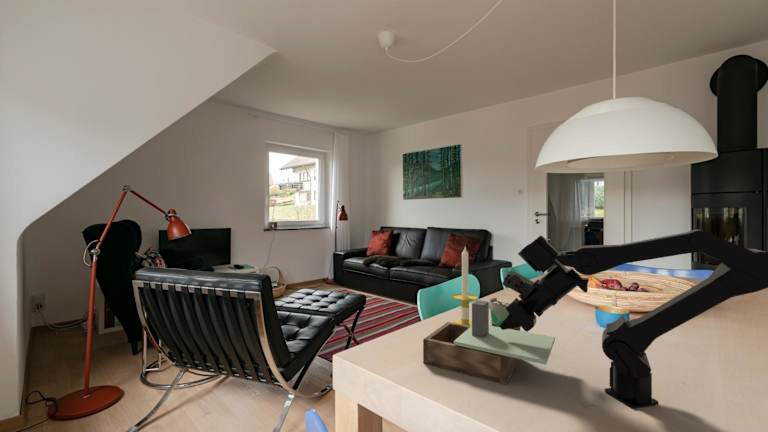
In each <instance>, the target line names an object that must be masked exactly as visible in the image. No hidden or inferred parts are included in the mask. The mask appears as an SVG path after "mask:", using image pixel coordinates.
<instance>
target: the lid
mask: <svg viewBox="0 0 768 432" xmlns="http://www.w3.org/2000/svg"><path fill="white" fill-rule="evenodd" d="M489 313H490V309H489V301H486V300H479V299H478V300H475V301H474V302H472V303H471V322H472V326H471V327H470V328H468V329H467V330H466V331H465V332H464V333H463V334H461V335H460V336H459V337H458V338H457V339H456V340H455V341H454V345H458V346H462V347H467V348H472V349H476V350H481V351H485V352H490V353H495V354H499V355H504V356H508V357H513V358H517V359H520V360H523V361H528V362H532V363H536V364H540V365H547V363H548V360H549V358H550V355H551V352H552V350H553V347H554V344H555V342H556V337H555V336H552V335H546V334H540V333H534V332H530V331H528V332H527V331H525V330H520V331H518V330H512V329H505V330H502V329H501V328H500V327H495V326H492V325H490V322H489V321H490V318H489Z"/></svg>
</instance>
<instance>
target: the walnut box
mask: <svg viewBox="0 0 768 432" xmlns="http://www.w3.org/2000/svg"><path fill="white" fill-rule="evenodd" d="M451 322H452V321H447V322H445V323H444V324H443V325H441V326H440V327H438V328H437V329H436V330H434V331H433V332H432V333H430V334H428V336H426V337H424V338H423V339H422V343H423V347H422V348H423V349H422V351H423V354H422V357H423V359H422V364H426V365H428V366H429V365H430V366H433V367H437V368H440V369H444V370H449V371H451V372H456V373H459V374H463V375H467V376H472V377H476V378H479V379H483V380H487V381H491V382H494V383H498V384H502V385H507V384H508V381H509V380H510V378H511V377H512V374H513V373H514V371H515V369H516V368H517V365H518V364H519V362H520V360H521V359H517V358H513V357H508V356H504V355H499V354H495V353H490V352H485V351H481V350H476V349H472V348H467V347H462V346H458V345H454V341H455V340H456V339H457V338H458V337H459V336H460V335H461V334H463V333H464V332H465V331H466V330H467V329H468V328H470V327H471V326H467V325H462V324H456V323H451Z"/></svg>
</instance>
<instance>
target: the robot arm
mask: <svg viewBox="0 0 768 432" xmlns="http://www.w3.org/2000/svg"><path fill="white" fill-rule="evenodd" d="M693 253H694V254H695V253H701V254H704V255H705V256H707V257H709V258H712V259H714V260H717V261H719V262H721V263H720V264H718V265H717V267H716V268H715V269H714V270H713V272H712V273H711V274H710V275H709V276H708V277H707V278H706V279H703V280H702V281H701V282H699V283H697V284H695V285H693V286H692V287H690V288H688V289H687V290H685V291H683V292H681V293H679V294H678V295H676V296H674V297H673V298H671V299H669V300H668V301H666V302H664V303H662V304H661V305H659V306H657V307H655V308H654V309H652V310H651V311H649V312H647V313H645V314H644V315H642V316H640V317H638V318H633V319H627V318H626V316H625V315H624V314H622V315H620V316H619V317H618V318H617V319H615V320H613V322H609V323H605V329H604V330H603V332H602V334H601V346H602V347H601V348H602V352H603V353H604V355H605V357H607V358H608V359H609V360H610V367H609V387H605V388H604V392H605V393H607V395H609V396H612V397H613V398H615V399H616V400H618V401H620V402H622V403H623V404H625V405H626V406H628V407H630V408H632V409H635V408H641V407H648V406H654V405H659V400H657V399H656V398H653V397H652V396H653V388H652V387H653V384H652V383H653V381H652V380H653V379H652V378H653V374H652V369H651V365H650V362H649V358H648V356H647V352H646V350H647V349H649V347H650V346H651V345H652V344H653V343H654V341H655V340H657V338H659V337H661V336H663V335H664V334H666V333H668V332H670V331H672V330H675V329H676V328H678V327H680V326H681V325H683V324H686V322H689V321H690V320H692V319H694V318H696V317H698V316H700V315H702V314H703V313H705V312H707V311H710V310H711V309H712V308H714V307H717V306H718V305H720V304H722V303H724V302H725V301H727V300H729V299H731V298H735V297H739V296H744V295H749V294H752V293H757V292H760V291H762V290H765V289H768V251H764V250H760V249H756V248H746V247H743V246H741V245H738V244H736V243H734V242H731V241H728V240H727V239H724V238H721V237H718V236H717V235H714V233H712V232H710V231H708V230H705V229H692V230H689V231H687V232H681V233H677V234H671V235H666V236H665V235H664V236H659V237H653V238H648V239H643V240H638V241H632V242H626V243H622V244H596V245H593V244H591V245H582V246H580V247H577V248H576V249H575V250H572V251H571V250H570V251H560V252H559V251H558V250H556V248H554V246H553V245H552V244H550V243H549V242H548V240H547V238H545V237H544V236H543V235H539V236H538V237H537V238H536V239H534V240H533V241H532V242H530V243H528V244H527V245H526V246H525V247H523V248H522V249H521V250H520V251H519V252H518V253H517V255H518V256H519V257H520V258H521V259H522V260H524V261H525V263H526V264H527V265H528V266H529V267H530V268H531V269H532V270H533V271H534V272H539V273H540V272H541V273H545V272H546V271H548V270H549V269H550V268H551V267H552V266H553V265H555V267H554V268H553V269H551V270H550V271H549V272H548V273H546V274H545V275H543V276H542V277H541V278H540V279H537V280H535V281H532V280H530V279H529V278H527V276H524V275H522V274H520V273H518V272H516V271H515V270H510V271H509V270H508V272H507V273H506V275H505V277H504V279H503V281H502V286H504V287H505V288H509V289H511V290H513V291H515V292H516V293H518V294H519V295H518V297H519V298H517V297H515V298H514V299H513V301H511V302H510V303H508V304H509V305H508V306H507V307H506V310H507V311H508V312H509V315H508V316H507V318H506V319H505V320H504V321H503V323H502V324H501V325H500V328H501V329H502V330H505V329H510V328H516V327H520V328H522V329H523V331H524V332H530V331H531V330H532V329H533V328H534V327H535V326H536V324H537V317H539V318H540V317H541V316H542V315H543V314H544V312H546V311H547V310H548V309H550V308H551V307H552V306H553V307H555V306H556V305H557V304H558V302H559V301H560V300H561V299H563V298H564V297H565V296H566V295H568V294H569V293H570V292H572V291H573V290H574V289H576V288H577V287H578V288H579V289H580V290H581V291H582V292H583V293H587V292H588V289H589V287H588V283H589V280H590V278H588V277H582V276H581V275H584V276H593V275H596V274H600V273H602V272H605V271H609V270H611V269H614V268H617V267H618V266H622V265H625V264H630V263H637V262H643V261H649V260H655V259H661V258H667V257H674V256H679V255H687V254H693ZM567 267H570V269H568V268H567ZM536 315H537V316H536Z"/></svg>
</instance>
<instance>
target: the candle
mask: <svg viewBox="0 0 768 432" xmlns="http://www.w3.org/2000/svg"><path fill="white" fill-rule="evenodd" d="M451 298H452V299H454V300H457V301H460V302H461V303H460V308H461V310H460V311H461V313H460V315H461V316H460V317H461V319H460V320H454V321H450V322H451V323H456V324H462V325H467V326H472V320H471V321H470V302H473V301H474V302H475V301H476V300H479V296H477V295H475V294H469V251H467V247H466V246H464V249H463V251H462V252H461V293H455V294H453V295H452V296H451Z"/></svg>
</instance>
